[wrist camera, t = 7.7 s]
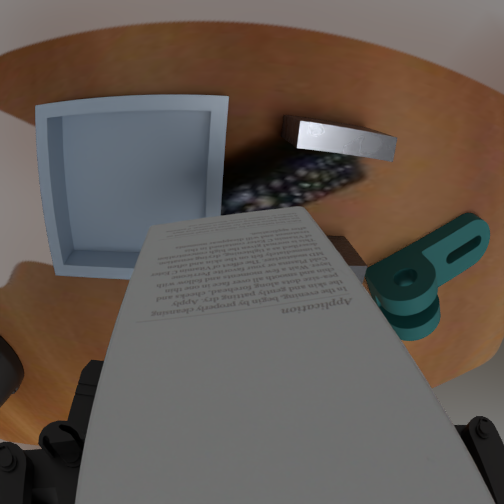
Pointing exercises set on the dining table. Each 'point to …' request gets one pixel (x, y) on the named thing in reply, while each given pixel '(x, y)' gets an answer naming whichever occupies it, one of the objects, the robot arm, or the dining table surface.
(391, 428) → the small box
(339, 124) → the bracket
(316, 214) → the dining table surface
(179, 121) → the tray
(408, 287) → the bracket
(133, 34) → the dining table surface
